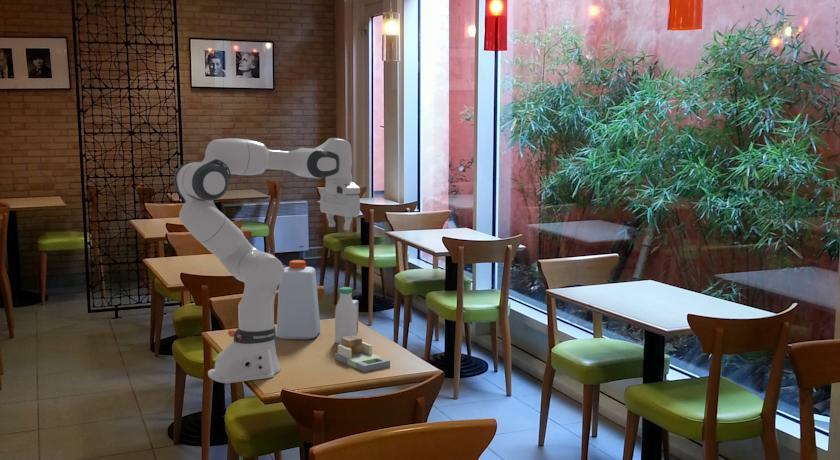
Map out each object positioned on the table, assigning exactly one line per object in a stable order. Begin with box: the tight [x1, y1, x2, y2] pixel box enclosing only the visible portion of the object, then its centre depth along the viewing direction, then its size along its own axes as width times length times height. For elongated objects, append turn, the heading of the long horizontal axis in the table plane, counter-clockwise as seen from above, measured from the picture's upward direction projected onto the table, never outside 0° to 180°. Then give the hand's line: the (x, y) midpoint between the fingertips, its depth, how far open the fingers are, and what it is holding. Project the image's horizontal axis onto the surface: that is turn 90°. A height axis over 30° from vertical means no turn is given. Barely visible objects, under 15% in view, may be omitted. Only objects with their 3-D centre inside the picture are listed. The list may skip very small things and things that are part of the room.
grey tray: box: [334, 341, 391, 373], centre depth 276 cm, size 10×18×5 cm, turn 36°
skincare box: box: [352, 299, 359, 332], centre depth 314 cm, size 6×4×12 cm
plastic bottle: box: [275, 259, 321, 341], centre depth 309 cm, size 15×15×28 cm
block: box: [341, 335, 363, 355], centre depth 281 cm, size 5×5×5 cm
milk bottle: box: [334, 286, 358, 345], centre depth 300 cm, size 8×8×20 cm
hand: (339, 228), depth 279 cm, fingers open, 8 cm apart
